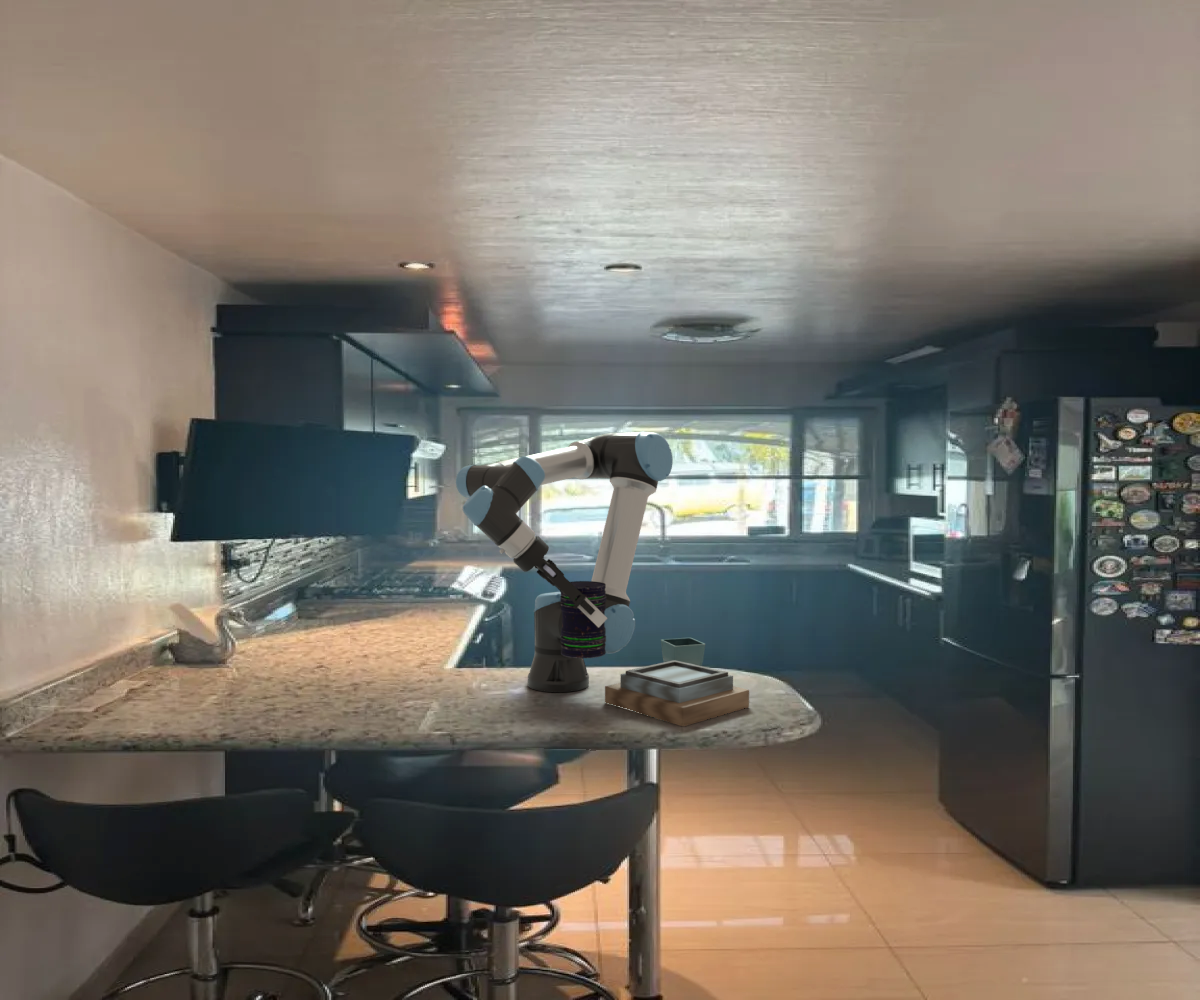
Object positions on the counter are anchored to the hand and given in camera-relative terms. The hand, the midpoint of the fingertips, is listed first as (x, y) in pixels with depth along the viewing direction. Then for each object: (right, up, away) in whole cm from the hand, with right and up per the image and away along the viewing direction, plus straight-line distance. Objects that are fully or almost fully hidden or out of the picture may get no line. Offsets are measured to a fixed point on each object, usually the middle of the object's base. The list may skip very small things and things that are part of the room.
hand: (597, 618), depth 200 cm
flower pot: (+22, -20, +38) cm, 49 cm away
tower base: (+18, -21, +10) cm, 30 cm away
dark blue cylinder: (-3, -8, 0) cm, 8 cm away
